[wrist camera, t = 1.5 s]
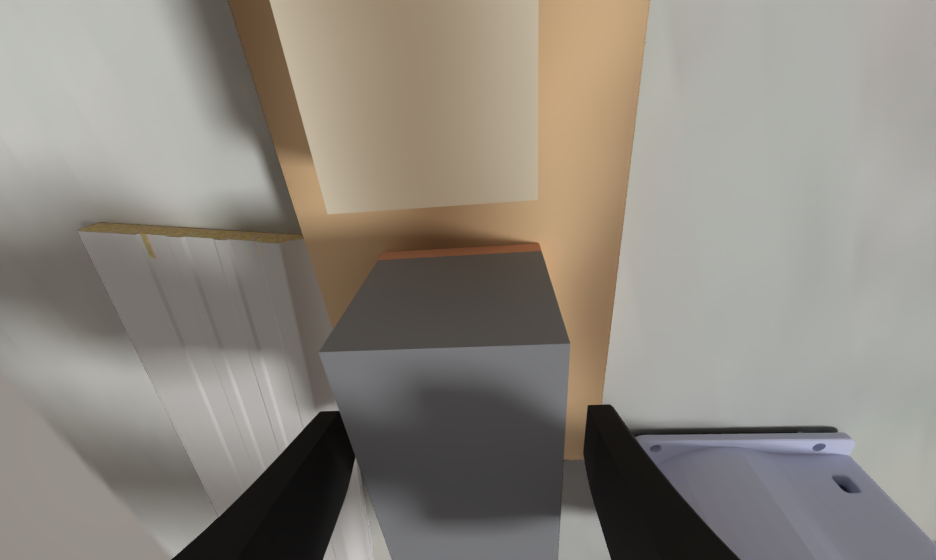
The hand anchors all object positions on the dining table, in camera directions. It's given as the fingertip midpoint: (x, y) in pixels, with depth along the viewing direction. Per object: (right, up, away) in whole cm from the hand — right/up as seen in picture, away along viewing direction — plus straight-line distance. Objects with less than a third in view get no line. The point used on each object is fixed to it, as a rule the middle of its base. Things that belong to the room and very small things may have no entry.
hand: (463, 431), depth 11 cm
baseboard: (-9, -7, +11) cm, 16 cm away
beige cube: (0, +9, -1) cm, 10 cm away
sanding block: (0, +2, +3) cm, 3 cm away
